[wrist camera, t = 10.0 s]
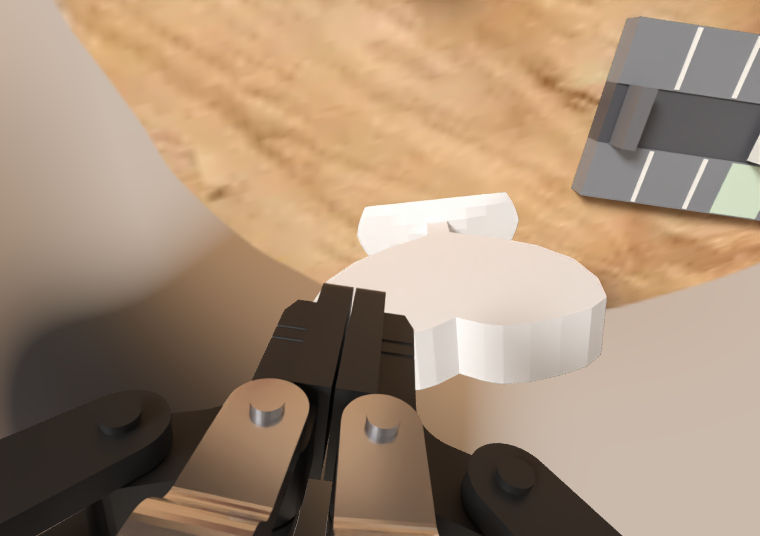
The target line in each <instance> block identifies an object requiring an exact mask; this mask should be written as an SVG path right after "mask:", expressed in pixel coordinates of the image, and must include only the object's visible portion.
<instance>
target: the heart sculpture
mask: <svg viewBox="0 0 760 536" xmlns="http://www.w3.org/2000/svg"><path fill="white" fill-rule="evenodd" d="M518 221H519V219H518V215H517V211H516V209H515V207H514V205H513V203H512V201H511V199H510V198H509V196H508V195H507V193H506V192H501V193H492V194H483V195H473V196H464V197H455V198H445V199H436V200H427V201H417V202H408V203H398V204H389V205H380V206H370V207H365V209H364V211H363V214H362V216H361V219H360V223H359V226H358V235H357V236H358V239H359V241H360V243H361V245H362V247H363V248H364V250H365V251H366V253H367V254H368V255H369V256H368V257H366V258H364V259H361V260H359V261H356V262H354V263H353V264H351V265H350V266H348V267H347V268H345V269H344V270H342V271H341V272H339V273H338V274H337V275H335V276H334V277H332V278H331V279H329V280H328V281H327V282H326V283H329V284H336V285H343V286H349V287H354V292H353V300H352V306H353V301H354V296H355V291H356V287H357V288H363V289H370V290H376V291H383V292H386V298H385V310H384V312H385V313H392V314H398V315H405V316H406V318H407V320H408V321H409V323H410V324H411V326H412V327H413V329H414V355H415V356H414V359H415V390H421V389H424V388H427V387H431V386H434V385H437V384H439V383H441V382H443V381H445V380H447V379H449V378H451V377H453V376H455V375H457V374H459V373H460V374H463V375H466V376H470V377H473V378H476V379H479V380H482V381H487V382H493V383H499V384H511V383H522V382H532V381H536V380H541V379H546V378H550V377H555V376H559V375H563V374H566V373H569V372H572V371H575V370H578V369H581V368H584V367H587V366H588V365H589V364H590V363H591V362H593V361H594V360H595V359H596V358H598V357H599V356H600V355H601V348H602V338H603V330H604V320H605V310H606V301H607V296H606V294H605V292H604V290H603V288H602V285H601V283H600V281H599V279H598V278H597V277H596V276H595V275H594V274H592V273H591V272H590V271H589V270H587V269H586V268H585V267H584V266H582V265H581V264H580V263H578V262H577V261H576V260H575V259H573V258H571V257H568V256H566V255H563V254H560V253H557V252H554V251H552V250H549V249H546V248H543V247H541V246H538V245H534V244H529V243H523V242H518V241H512V240H511V239H512V237H513V235H514V233H515V231H516V228H517V224H518ZM320 292H321V291H320ZM320 292H319V294H318V296H317V297H316V298H315V300H314V301H313V302H317V301H318V298H319V295H320ZM351 311H352V307H351Z"/></svg>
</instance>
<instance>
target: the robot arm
mask: <svg viewBox="0 0 760 536" xmlns="http://www.w3.org/2000/svg"><path fill="white" fill-rule="evenodd" d="M353 292H354V287H349V286H343V285H336V284H329V283H324V284H323V286H322V289H321V292H320V295H319V298H318V301H317V302H311V301H304V300H297V301H296V302H295V303H293V304H292V305H291V306H289V307H288V308H286V309H285V310H284V312H283V314H282V316H281V319H280V321H279V323H278V327H276V329H275V331H274V334H273V337H272V338H271V340H270V342H269V344H268V347H267V349H266V351H265V353H264V355H263V357H262V359H261V362H260V364H259V366H258V368H257V370H256V373H255V375H254V377H253V379H252V381H251V382H248V383H246V384H244V385H241V386H240V387H239V388H237V389H236V390H235V391H233V392H232V393H231V395H230V396H229V397H228V398H227V400H226V402H225V403H224V405H222V406H219V407H215V408H212V409H207V410H199V411H189V412H180V413H171V408H170V406H169V403H168V402H167V400H166V399H165V398H164V397H162V396H161V395H159V394H157V393H155V392H152V391H148V390H140V389H131V390H123V391H117V392H114V393H110V394H107V395H105V396H102V397H100V398H97V399H95V400H92V401H90V402H88V403H85V404H83V405H81V406H78V407H76V408H73V409H71V410H69V411H66V412H64V413H62V414H60V415H57V416H55V417H52V418H50V419H47V420H45V421H43V422H40V423H38V424H36V425H33V426H31V427H29V428H26V429H24V430H21V431H19V432H17V433H14V434H12V435H10V436H7V437H5V438H3V439H0V536H36V535H38V534H40V533H42V532H43V531H45V530H47V529H49V528H50V527H52V526H54V525H56V524H57V523H59V522H61V521H63V520H64V519H66V518H68V517H70V516H71V515H73V514H75V513H77V512H78V511H80V510H82V509H84V510H82V511H80V512H79V513H77V514H75V515H73V516H72V517H70V518H68V519H66V520H65V521H63V522H61V523H60V524H58V525H56V526H54V527H52V528H51V529H49V530H47V531H46V532H44V533H42V534H40V535H38V536H293V534H294V531H295V528H296V525H297V521H298V517H299V511H300V508H301V506H302V504H303V500H304V497H305V492H306V488H307V483H308V479H309V478H310V479H317V480H320V479H321V474H322V468H323V463H324V459H325V454H326V448H327V444H328V451H327V459H326V467H325V475H324V480H326V481H332V490H331V496H330V505H329V511H328V518H327V526H326V536H622V535H621V534H620V533H618V531H616V530H615V529H614V528H613V527H612V526H611V525H610V524H609V523H608V522H606V521H605V520H604V519H603V518H602V517H601V516H600V515H599V514H598V513H596V512H595V511H594V510H593V509H592V508H591V507H590V506H589V505H588V504H587V503H586V502H584V501H583V500H582V499H581V498H580V497H579V496H578V495H577V494H576V493H574V492H573V491H572V490H571V489H570V488H569V487H568V486H567V485H566V484H565V483H564V482H562V481H561V480H560V479H559V478H558V477H557V476H556V475H555V474H554V473H553V472H551V471H550V470H549V469H548V468H547V467H546V466H545V465H544V464H542V462H540V461H539V460H538V459H537V458H536V457H534V456H533V455H531V454H530V453H528V452H526V451H524V450H522V449H520V448H517V447H515V446H512V445H508V444H502V443H493V444H487V445H484V446H482V447H480V448H478V449H477V450H476V451H475V452H474V453H473V454H472V455H470V454H467V453H465V452H463V451H461V450H458V449H456V448H453V447H451V446H449V445H447V444H445V443H443V442H441V441H440V440H438V439H437V438H435V437H434V436H433V435H432V434H430V433H429V432H428V431H427V430H426V429H425V427H424V426H423V424H422V422H421V419H420V417H419V416H418V414H417V412H416V398H415V397H416V395H415V359H414V356H415V355H414V329H413V327H412V326H411V324H410V323H409V321H408V320H407V318H406V316H405V315H398V314H392V313H385V312H384V310H385V298H386V292H383V291H376V290H370V289H363V288H357V287H356V291H355V296H354V301H353V306H352V300H353ZM351 307H352V311H351ZM329 434H330V435H329ZM328 439H329V443H328Z"/></svg>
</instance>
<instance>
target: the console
mask: <svg viewBox="0 0 760 536" xmlns="http://www.w3.org/2000/svg"><path fill="white" fill-rule="evenodd" d="M759 135H760V34H754V33H747V32H740V31H733V30H727V29H720V28H713V27H707V26H700V25H693V24H686V23H680V22H673V21H666V20H660V19H653V18H646V17H635V18H628V19H627V20H626V23H625V26H624V29H623V32H622V35H621V38H620V41H619V44H618V47H617V50H616V53H615V56H614V59H613V62H612V66H611V69H610V72H609V75H608V78H607V81H606V84H605V87H604V90H603V93H602V96H601V99H600V102H599V105H598V108H597V111H596V114H595V117H594V120H593V123H592V126H591V130H590V133H589V136H588V139H587V142H586V145H585V148H584V151H583V154H582V157H581V160H580V163H579V166H578V169H577V172H576V175H575V178H574V181H573V184H572V187H571V188H572V189H573V190H575V191H576V192H577V193H578V194H579V195H583V196H590V197H597V198H604V199H611V200H618V201H625V202H632V203H639V204H646V205H653V206H660V207H667V208H674V209H681V210H688V211H695V212H702V213H709V214H716V215H723V216H729V217H736V218H743V219H750V220H757V221H760V165H759V164H756V163H753V162H750V161H747V159H748V157H749V155H750V153H751V151H752V149H753V147H754V145H755V143H756V141H757V139H758V137H759Z"/></svg>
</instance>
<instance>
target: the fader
mask: <svg viewBox="0 0 760 536" xmlns="http://www.w3.org/2000/svg"><path fill="white" fill-rule="evenodd" d="M747 161H750V162H753V163H756V164H759V165H760V135H759V137H758V139H757V141H756V143H755V145H754V147H753V149H752V151H751V153H750V155H749V157H748V159H747Z"/></svg>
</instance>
